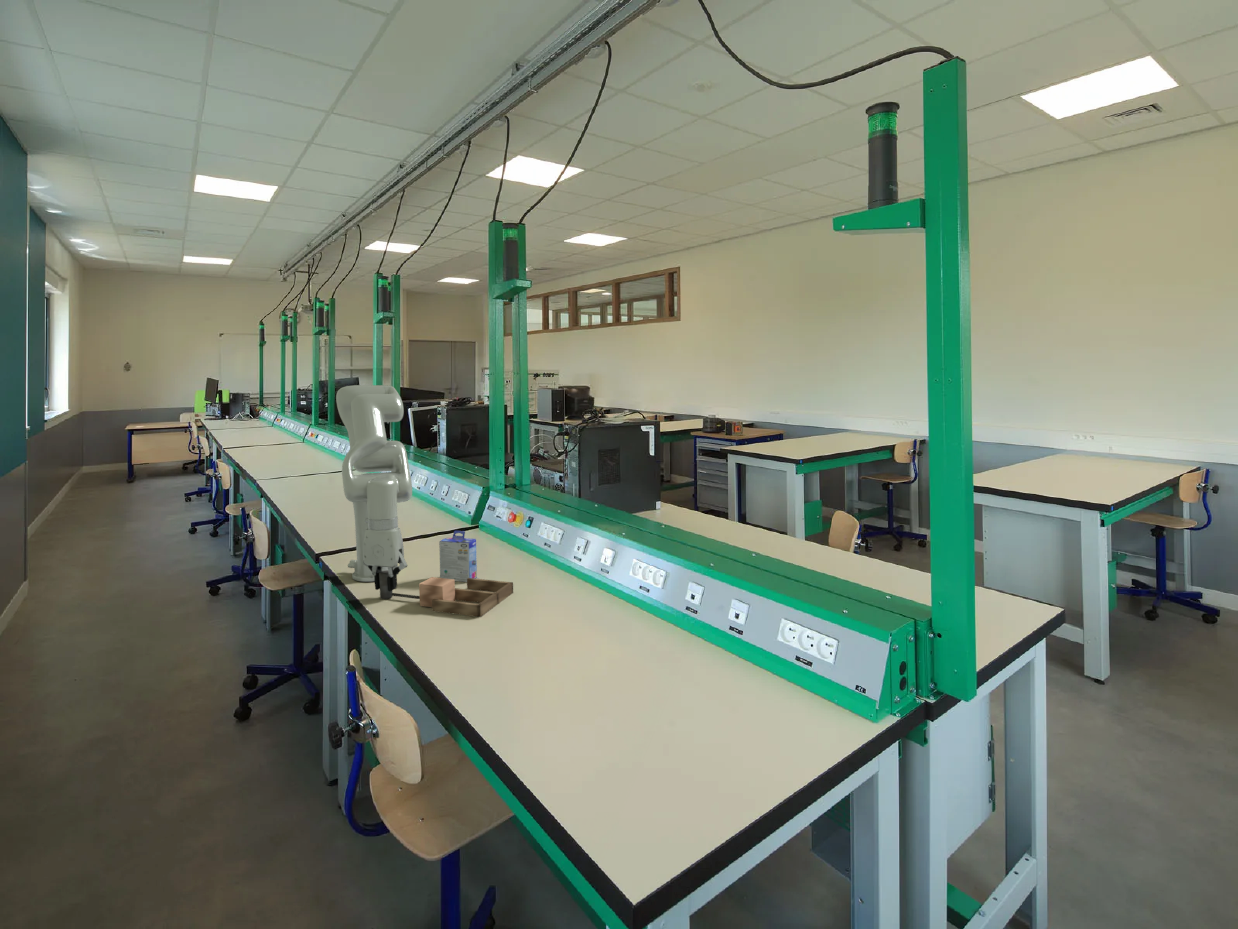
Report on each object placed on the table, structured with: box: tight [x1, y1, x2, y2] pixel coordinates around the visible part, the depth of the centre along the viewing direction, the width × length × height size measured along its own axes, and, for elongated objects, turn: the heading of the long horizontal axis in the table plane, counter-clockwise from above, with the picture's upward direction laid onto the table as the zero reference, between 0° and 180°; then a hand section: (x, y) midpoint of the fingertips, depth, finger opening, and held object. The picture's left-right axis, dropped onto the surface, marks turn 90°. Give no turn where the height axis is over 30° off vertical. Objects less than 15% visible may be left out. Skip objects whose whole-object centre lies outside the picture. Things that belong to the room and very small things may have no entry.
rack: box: [431, 578, 514, 618], centre depth 169 cm, size 14×19×3 cm
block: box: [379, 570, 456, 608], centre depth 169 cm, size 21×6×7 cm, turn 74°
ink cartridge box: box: [439, 530, 478, 583], centre depth 187 cm, size 10×6×14 cm, turn 79°
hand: (386, 588), depth 171 cm, fingers closed on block, 3 cm apart
